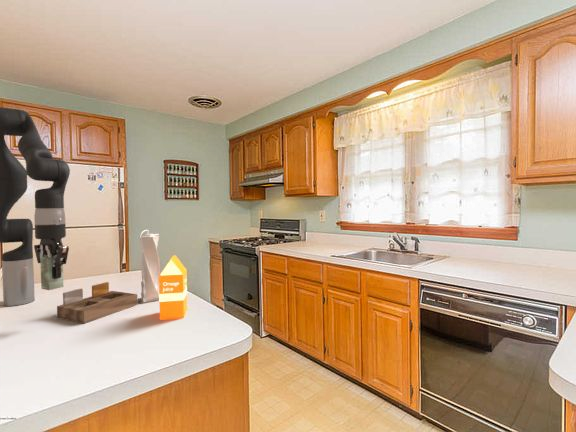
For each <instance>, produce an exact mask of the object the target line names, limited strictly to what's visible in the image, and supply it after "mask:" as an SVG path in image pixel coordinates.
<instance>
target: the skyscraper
mask: <svg viewBox="0 0 576 432" xmlns="http://www.w3.org/2000/svg"><path fill="white" fill-rule="evenodd" d="M145 232H147V233H146V234H145V235H144V236H143V235H142V234H143V233H145ZM139 240H140V244H141V249H142V255H141V282H140V283H141V293H140V297H139V298H138V297H137V300H138V301H139V303H141V305H142V304H143V305H144V304H148V303H153V302H154V303H155V302H159V292H158V291H159V275H160V274H161V265H160V264H161V262H160V256H159V252H158V246H159V241H160V234H159V233H150V232H149V229H144V230H143V231H141V232H140V235H139Z"/></svg>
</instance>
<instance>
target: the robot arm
mask: <svg viewBox="0 0 576 432" xmlns="http://www.w3.org/2000/svg"><path fill="white" fill-rule="evenodd" d="M5 136H9V137H10V136H13V137H20V138H19V140H18V142H17V149H18V151H19V153H20V155H21V156H22V157H23V159H24V161H25V167H24V165H23V164H22V163H21V162H20V160H18V158H17V157H16V156H15V155H14V154H13V153H12V151H11V150H10V149H9V146H8V145H7V142H6V139H5ZM70 172H71V169H70V166H69V164H68V163H67V162H66V161H65V160H63V159H57V158H54V157H53V154H52V152H51V150H49V148H48V146H46V145H45V143H44V142H43V140H42V138H41V136H40V133H39V131H38V129H37V126H36V124H35V121H34V120H33V117H32V116H31V115H30V113H28V112H27V111H25V110H23V109H18V108H10V107H3V106H0V243H1V244H7V243H8V244H9V243H21V245H20V246H18V247H16V248H14V249H12V250H11V249H10V250H8V251H6V252H3V253H2V254H1V269H2V270H1V272H2V273H1V276H2V296H3V297H2V300H3V306H5V307H12V306H13V307H14V306H20V305H25V304H29V303H31V302H32V303H33V302H34V301H35V297H36V296H35V275H34V274H35V272H34V271H35V270H34V252H35V257H36V262H37V263H38V264H40V257H44V256H48V257H49V259H50V260H51V264H52V278H53V279H58V278H61V266H62V265H63V266H64V265H66V264H67V261H68V256H69V249H70V247H69V246H68V245H64V244H63V242H62V239H64V238H66V236H67V232H66V230H67V228H66V213H65V212H66V211H65V201H64V198H65V197H64V195H65V191H66V188H67V187H66V186H67V184H68V180H69V177H70V174H71V173H70ZM28 177H29V178H30V179H31V180H33V181H38V182H52V185H51V186H50V187H48V188H41V189H37V190H35V192H34V208H35V209H34V225H33V221H32V220H31V219H30V218H8V216H9V213H10V211H11V210H12V208H13V207H14V206H15V204H16V203H18V201H19V200H20V199H21V198H22V197H23V196H24V194H25V193H26V191H27V190H28ZM33 232H34V233H33ZM33 238H35V239H36V240H39V244H35V245H34V246H33V241H34V239H33ZM33 248H34V252H33ZM55 255H57V256H55ZM62 258H63V260H62ZM55 259H56V262H55Z"/></svg>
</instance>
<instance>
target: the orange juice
mask: <svg viewBox="0 0 576 432" xmlns="http://www.w3.org/2000/svg"><path fill="white" fill-rule="evenodd" d="M187 276H188V275H187V268H186V267H185V266H184V264H183V263H182V262H181V260H180V258H178V257H177V255H175V254H174V255H173V256H172V257H171V258H170V260H169V261H168V263H167V264H166V265H165V267H164V268H163V269H162V271H161V272H160V275H159V286H158V291H159V292H158V295H159V301H158V303H159V320H160V321H161V320H163V321H164V320H177V319H184V318H185V316H186V313H187V311H188V284H187V283H188V282H187Z"/></svg>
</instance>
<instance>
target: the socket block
mask: <svg viewBox="0 0 576 432" xmlns="http://www.w3.org/2000/svg"><path fill="white" fill-rule="evenodd" d="M83 292H84V291H83V288H77V289H73V290H70V291H65V292H62V304H60V305H56V318H57V319H60V320H66V321H71V322H76V323H80V324H87V323H91V322H93V321H96V320H98V319H102V318H104V317H106V316H110V315H113V314H115V313H118V312H121V311H124V310H126V309H129V308H132V307H135V306H137V305H139V303H138V301H139V300H138V293H130V292H124V291H117V290H116V291H115V290H110V282H109V281H106V282H102V283H96V284H93V285H91V296H89V297H85V298H84V296H83V295H84V293H83Z"/></svg>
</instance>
